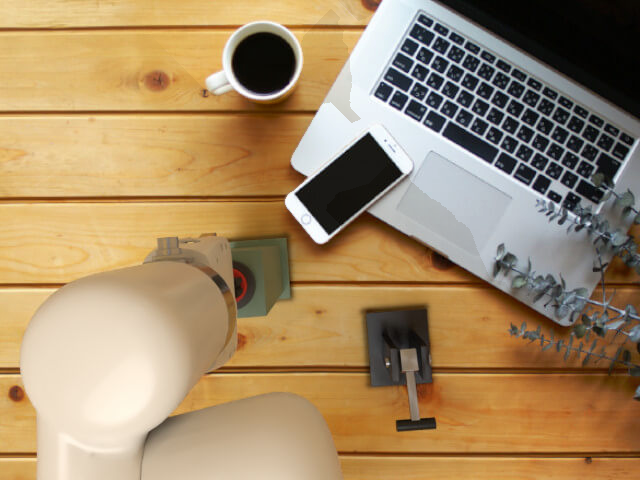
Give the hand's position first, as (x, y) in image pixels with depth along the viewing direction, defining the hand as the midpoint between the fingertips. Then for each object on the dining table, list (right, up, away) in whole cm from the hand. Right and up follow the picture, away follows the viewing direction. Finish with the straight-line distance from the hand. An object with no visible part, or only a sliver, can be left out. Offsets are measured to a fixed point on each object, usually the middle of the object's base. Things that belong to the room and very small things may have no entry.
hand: (226, 285), depth 52 cm
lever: (+21, -15, +17) cm, 31 cm away
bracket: (+21, -11, +26) cm, 35 cm away
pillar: (0, 0, +26) cm, 26 cm away
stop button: (0, 0, +1) cm, 1 cm away
